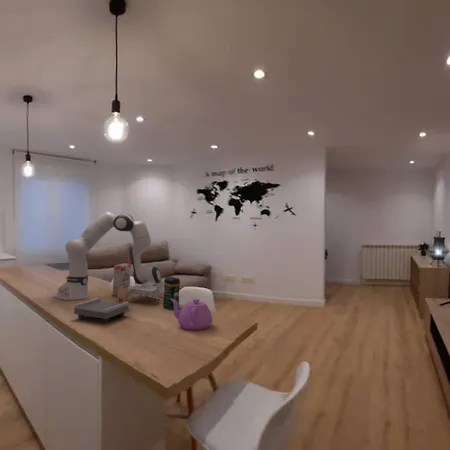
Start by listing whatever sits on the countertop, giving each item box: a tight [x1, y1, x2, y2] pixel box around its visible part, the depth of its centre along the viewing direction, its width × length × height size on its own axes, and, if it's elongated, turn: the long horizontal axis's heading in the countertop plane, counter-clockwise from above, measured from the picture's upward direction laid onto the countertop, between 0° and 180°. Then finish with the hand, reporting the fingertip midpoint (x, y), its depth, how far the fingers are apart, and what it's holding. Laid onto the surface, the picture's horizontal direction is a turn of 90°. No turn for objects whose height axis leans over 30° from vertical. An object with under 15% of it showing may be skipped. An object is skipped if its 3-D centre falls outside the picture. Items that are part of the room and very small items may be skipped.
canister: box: [116, 285, 129, 304], centre depth 193 cm, size 6×6×14 cm
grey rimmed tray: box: [73, 297, 129, 324], centre depth 177 cm, size 20×18×7 cm
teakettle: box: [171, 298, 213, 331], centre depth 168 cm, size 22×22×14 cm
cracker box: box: [112, 262, 132, 297], centre depth 233 cm, size 14×6×21 cm, turn 168°
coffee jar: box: [162, 276, 181, 310], centre depth 202 cm, size 10×8×19 cm
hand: (134, 293), depth 204 cm, fingers open, 8 cm apart
